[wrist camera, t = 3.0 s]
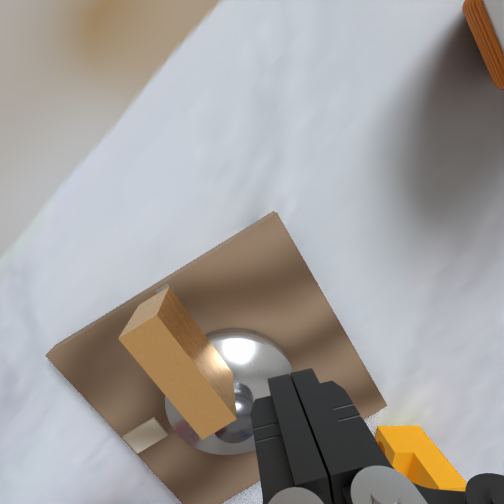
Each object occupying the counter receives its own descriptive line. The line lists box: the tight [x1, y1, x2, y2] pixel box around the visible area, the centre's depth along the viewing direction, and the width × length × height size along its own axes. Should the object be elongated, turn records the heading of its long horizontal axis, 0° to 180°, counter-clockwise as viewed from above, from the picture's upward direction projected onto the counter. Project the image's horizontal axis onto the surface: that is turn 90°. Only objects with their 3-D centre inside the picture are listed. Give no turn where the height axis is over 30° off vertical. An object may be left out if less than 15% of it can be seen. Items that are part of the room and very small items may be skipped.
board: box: [45, 211, 387, 504], centre depth 25 cm, size 20×20×2 cm
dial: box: [118, 287, 294, 455], centre depth 21 cm, size 15×10×6 cm, turn 31°
